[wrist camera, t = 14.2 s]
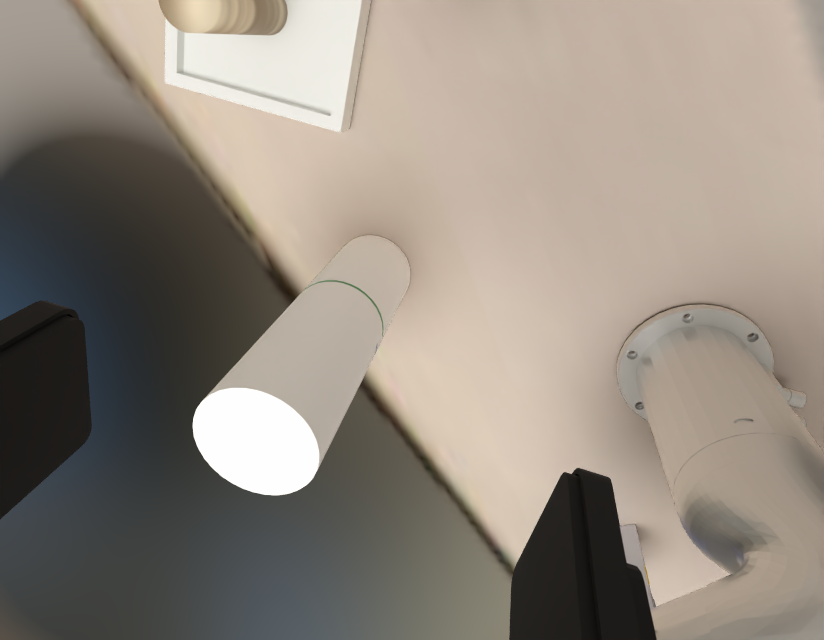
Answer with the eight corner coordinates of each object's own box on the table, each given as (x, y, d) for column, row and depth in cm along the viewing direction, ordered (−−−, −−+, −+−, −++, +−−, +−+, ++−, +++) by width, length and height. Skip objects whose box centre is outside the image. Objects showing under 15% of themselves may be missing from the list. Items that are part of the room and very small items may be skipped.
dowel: (290, -10, 40) (213, -27, 31) (284, 40, 42) (210, 39, 32) (247, -22, 40) (158, -42, 31) (243, 29, 42) (157, 24, 32)
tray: (383, -72, 39) (374, -79, 37) (349, 128, 45) (340, 132, 43) (186, -123, 40) (166, -133, 37) (182, 81, 46) (164, 82, 44)
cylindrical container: (327, 288, 53) (184, 463, 31) (349, 222, 49) (204, 366, 27) (395, 317, 53) (300, 512, 31) (421, 253, 49) (335, 422, 27)
